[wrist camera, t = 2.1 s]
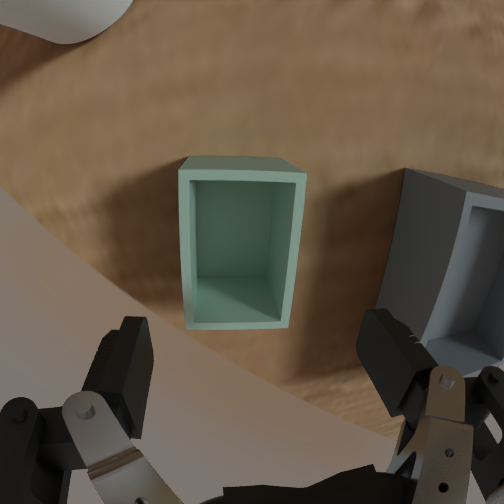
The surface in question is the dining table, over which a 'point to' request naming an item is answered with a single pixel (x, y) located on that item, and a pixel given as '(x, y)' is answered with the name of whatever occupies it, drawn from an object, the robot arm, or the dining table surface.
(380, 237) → the dining table surface
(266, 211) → the small crate
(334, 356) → the dining table surface
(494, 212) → the big crate
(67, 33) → the white cylinder
